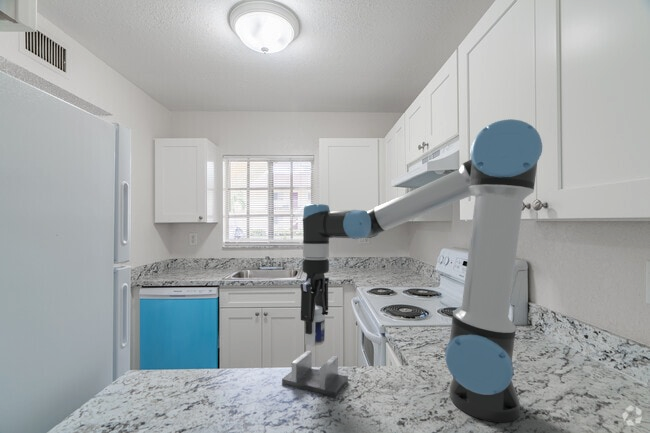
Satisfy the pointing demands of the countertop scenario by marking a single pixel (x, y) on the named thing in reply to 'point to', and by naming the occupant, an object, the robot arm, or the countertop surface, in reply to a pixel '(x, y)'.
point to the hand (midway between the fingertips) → (315, 341)
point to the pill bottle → (319, 326)
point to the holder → (316, 376)
